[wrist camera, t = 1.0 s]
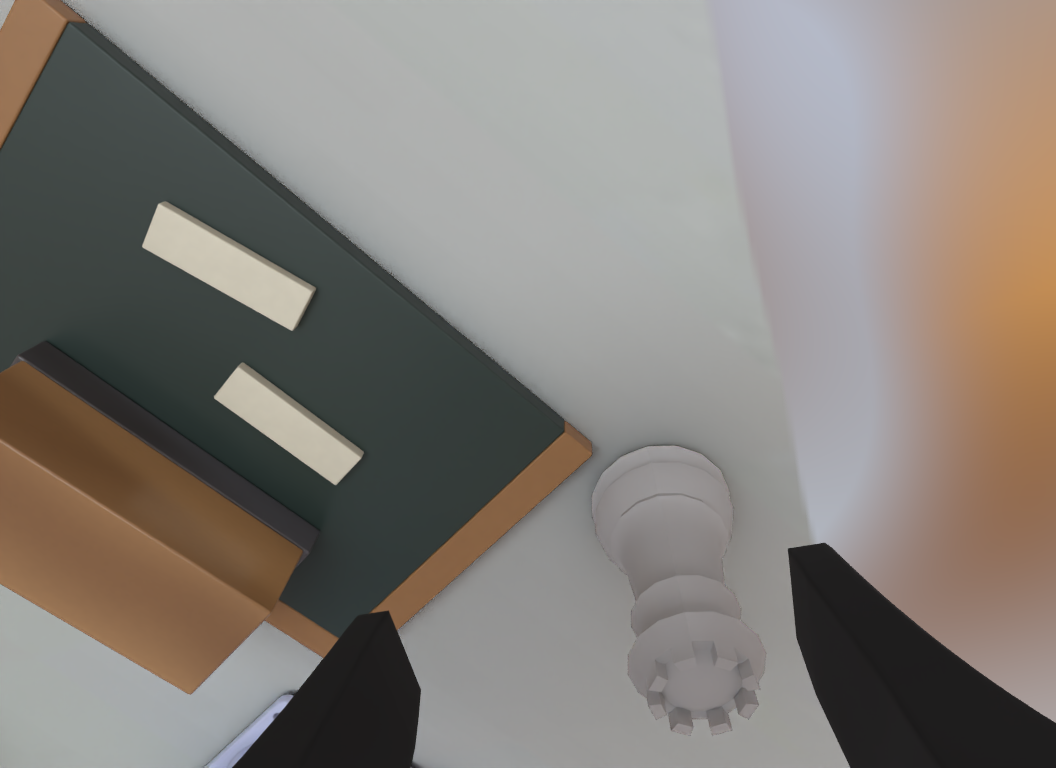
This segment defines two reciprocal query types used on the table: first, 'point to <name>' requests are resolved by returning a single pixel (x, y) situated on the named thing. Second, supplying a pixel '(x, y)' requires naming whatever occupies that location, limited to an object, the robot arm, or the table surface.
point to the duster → (133, 524)
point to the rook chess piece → (679, 586)
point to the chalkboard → (254, 331)
